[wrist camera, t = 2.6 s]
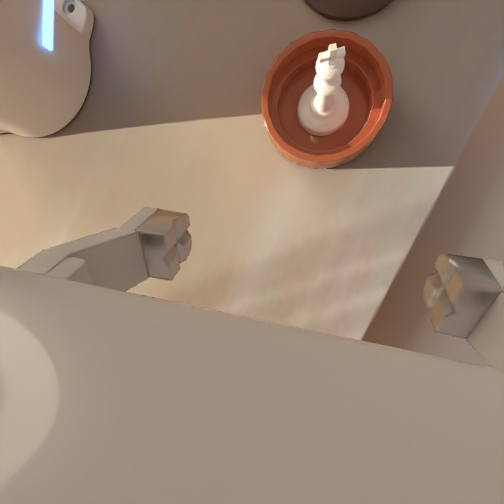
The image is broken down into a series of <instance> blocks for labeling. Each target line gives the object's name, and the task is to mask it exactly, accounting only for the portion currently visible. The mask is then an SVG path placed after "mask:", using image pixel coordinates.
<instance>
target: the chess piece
mask: <svg viewBox="0 0 504 504" xmlns="http://www.w3.org/2000/svg"><path fill="white" fill-rule="evenodd" d="M345 54H346V52H345V46H344V47H340V48H337V46H336V43H334V44H330V45H329V49H328V51H325V52H321V53H319V56H318V59H317V62H316V72H317V74H316V76H315V78H314V84H313V85H311V86H310V87H308V88H307V89H306V90H305V91H304V93H303V94H302V96H301V98H300V100H299V103H298V107H297V117H298V120H299V123H300V125H301V126H302V127H303V128H304V129H305V130H306V131H307V132H309V133H310V134H313V135H317V136H325V135H329V134H332V133H334V132H336V131H337V130H338V129H340V128H341V127H342V125H343V124H344V123H345V121H346V119H347V117H348V113H349V99H348V96H347V94H346V92H345V91H344V89H343V88H342V87H341V86H340V85H341V73H342V72H343V70H344V66H345V60H344V57H345Z"/></svg>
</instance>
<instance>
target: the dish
mask: <svg viewBox="0 0 504 504" xmlns="http://www.w3.org/2000/svg"><path fill="white" fill-rule="evenodd" d="M334 43H336V46H337V48H340V47H344V46H345V52H346V54H345V57H344V60H345V66H344V70H343V72H342V73H341V85H340V86H341V87H342V88H343V89H344V91H345V92H346V94H347V96H348V99H349V113H348V117H347V119H346V121H345V123H344V124H343V125H342V127H341V128H340V129H338V130H337V131H336V132H334V133H332V134H329V135H325V136H317V135H313V134H310V133H309V132H307V131H306V130H305V129H304V128H303V127H302V126H301V125H300V123H299V120H298V117H297V107H298V103H299V100H300V98H301V96H302V94H303V93H304V91H305V90H306V89H307V88H308V87H310V86H311V85H313V84H314V78H315V76H316V74H317V72H316V62H317V59H318V56H319V53H321V52H325V51H328V49H329V45H330V44H334ZM392 99H393V86H392V75H391V73H390V70H389V68H388V65H387V62H386V60H385V58H384V57H383V55H382V54H381V53H380V52H379V51H378V50H377V48H376V47H375V46H374V45H373V44H372V43H371V42H370V41H368V40H366V39H364V38H362V37H361V36H359V35H357V34H355V33H353V32H347V31H341V30H335V29H331V30H325V31H319V32H313V33H310V34H308V35H306V36H304V37H302V38H300V39H298V40H296V41H294V42H293V43H291V44H290V45H289V46H288V47H287V48H286V49H285V50H284V51H283V52H282V53H281V54H280V55H279V56H278V57H277V58H276V60H275V61H274V63H273V65H272V66H271V68H270V70H269V71H268V73H267V75H266V78H265V82H264V86H263V90H262V94H261V100H262V116H263V119H264V122H265V125H266V127H267V130H268V133H269V135H270V138H271V141H272V143H273V144H274V145H275V146H276V148H277V149H278V150H279V151H280V153H281V154H282V155H283V156H284V157H286V158H288V159H289V160H291V161H292V162H294V163H296V164H297V165H300V166H304V167H309V168H313V169H322V168H333V167H337V166H339V165H342V164H344V163H346V162H349V161H351V160H353V159H354V158H355V157H357V156H358V155H359V154H360V153H361V152H363V151H364V150H365V149H366V148H367V147H368V146H369V145H370V144H371V142H372V141H373V140H374V138H375V137H376V135H377V134H378V132H379V131H380V129H381V128H382V126H383V125H384V123H385V122H386V120H387V117H388V114H389V111H390V107H391V104H392V101H393V100H392Z"/></svg>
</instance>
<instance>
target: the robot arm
mask: <svg viewBox="0 0 504 504" xmlns="http://www.w3.org/2000/svg"><path fill="white" fill-rule="evenodd" d="M93 23H94V16H93V13H92V11H91V10H90V9H89V8H88V7H87V6H85V5H84V4H83V3H82V2H81V1H79V0H0V133H5V132H10V133H14V134H17V135H20V136H24V137H32V138H36V137H44V136H48V135H51V134H53V133H55V132H57V131H59V130H60V129H62V128H63V127H65V126H66V125H67V124H68V123H69V122H70V121H71V120H72V119H73V118H74V117H75V115H76V114H77V113H78V111H79V110H80V108H81V106H82V104H83V102H84V100H85V98H86V95H87V92H88V89H89V84H90V78H91V60H90V51H89V41H90V37H91V33H92V29H93ZM189 226H190V221H189V216H188V215H187V214H186V213H181V212H175V211H169V210H164V209H159V208H152V207H144V208H143V209H142V210H140V211H139V212H138V213H137V214H136V215H135V216H134V217H132V218H131V219H130V220H129V221H128V222H127V223H125V224H124V225H123V226H122V227H121V228H113V229H110V230H107V231H103V232H100V233H97V234H94V235H90V236H87V237H84V238H81V239H77V240H74V241H71V242H67V243H64V244H61V245H58V246H54V247H51V248H48V249H44V250H42V251H40V252H39V253H38V254H36V255H35V256H34V257H32V258H31V259H29V260H28V261H27V262H25V263H24V264H22V265H21V266H20V267H18V268H17V269H14V268H9V267H4V266H0V504H504V264H503V263H502V262H500V261H498V260H489V259H481V258H473V257H465V256H457V255H449V254H441V255H440V256H439V257H438V259H437V261H436V263H435V267H436V269H437V271H436V272H434V273H432V274H431V275H429V276H428V278H427V281H426V283H425V286H424V300H425V304H426V305H427V306H428V307H429V308H430V309H431V310H432V311H431V313H430V314H429V316H430V319H431V322H432V325H433V328H434V331H435V332H437V333H441V334H446V335H450V336H455V337H459V338H464V339H466V341H467V342H468V343H469V344H470V345H471V346H472V347H473V348H474V349H475V350H476V351H477V353H478V354H479V355H480V356H481V357H482V358H483V359H484V360H485V361H486V362H487V363H488V364H489V365H490V366H491V367H492V368H490V367H485V366H480V365H476V364H471V363H466V362H461V361H456V360H451V359H447V358H442V357H437V356H432V355H428V354H422V353H418V352H413V351H408V350H404V349H399V348H393V347H389V346H384V345H379V344H375V343H370V342H365V341H360V340H355V339H351V338H346V337H341V336H336V335H331V334H326V333H322V332H317V331H312V330H307V329H302V328H298V327H293V326H288V325H283V324H278V323H274V322H269V321H264V320H259V319H254V318H250V317H245V316H240V315H235V314H230V313H225V312H221V311H216V310H211V309H206V308H201V307H197V306H192V305H187V304H182V303H177V302H173V301H168V300H163V299H158V298H153V297H149V296H144V295H139V294H134V293H129V292H125V291H127V290H129V289H130V288H132V287H134V286H136V285H137V284H139V283H141V282H142V281H144V280H146V279H148V277H153V278H159V279H165V280H171V281H172V280H173V278H174V277H175V275H176V274H177V272H178V271H179V269H180V263H182V262H184V261H186V259H187V258H188V256H189V253H190V250H191V244H192V240H191V235H190V234H189V232H188V231H187V228H188V227H189Z"/></svg>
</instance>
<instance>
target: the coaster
mask: <svg viewBox="0 0 504 504" xmlns="http://www.w3.org/2000/svg"><path fill="white" fill-rule="evenodd" d="M305 1H306V3H307V4H308V5H309V6H310V7H311V8H312V9H314V10H315V11H316V12H318V13H319V14H321V15H323V16H325V17H328V18H331V19H336V20H345V21H347V20H356V19H361V18H364V17H367V16H370V15H372V14H374V13H376V12H378V11H380V10H381V9H383V8H385V7H386V6H387V5H388V4H390V3H391V2H392V1H393V0H305Z"/></svg>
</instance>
